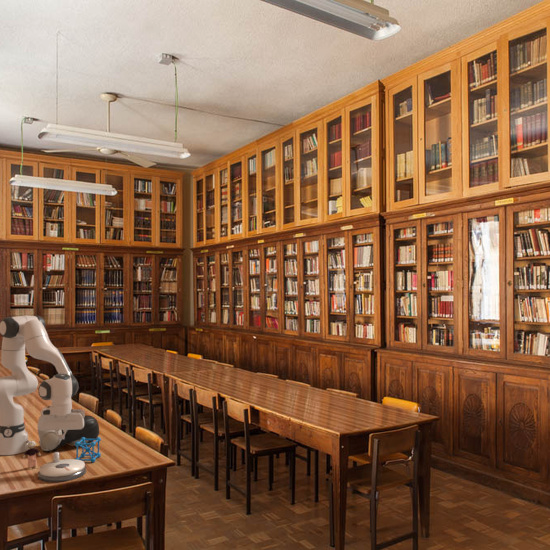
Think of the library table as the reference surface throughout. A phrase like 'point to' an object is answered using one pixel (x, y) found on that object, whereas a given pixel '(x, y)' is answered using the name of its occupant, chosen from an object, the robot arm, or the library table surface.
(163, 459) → the library table surface
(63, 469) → the turntable
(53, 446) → the head bust
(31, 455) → the grandmother figurine
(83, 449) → the molecular structure
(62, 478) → the turntable base
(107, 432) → the library table surface
